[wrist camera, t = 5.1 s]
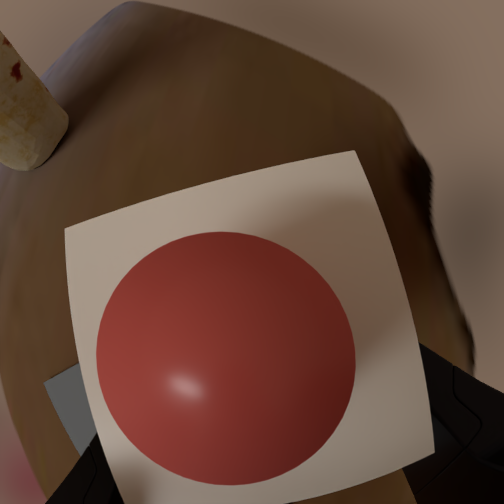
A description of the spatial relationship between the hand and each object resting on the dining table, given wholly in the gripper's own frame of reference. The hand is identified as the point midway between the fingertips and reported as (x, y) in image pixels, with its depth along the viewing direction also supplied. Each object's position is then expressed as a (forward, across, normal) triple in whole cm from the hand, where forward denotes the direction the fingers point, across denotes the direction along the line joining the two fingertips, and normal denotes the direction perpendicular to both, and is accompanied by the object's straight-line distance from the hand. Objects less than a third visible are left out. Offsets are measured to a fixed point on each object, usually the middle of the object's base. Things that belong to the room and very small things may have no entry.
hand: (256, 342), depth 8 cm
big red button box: (+5, 0, +5) cm, 7 cm away
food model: (+22, +18, -7) cm, 29 cm away
